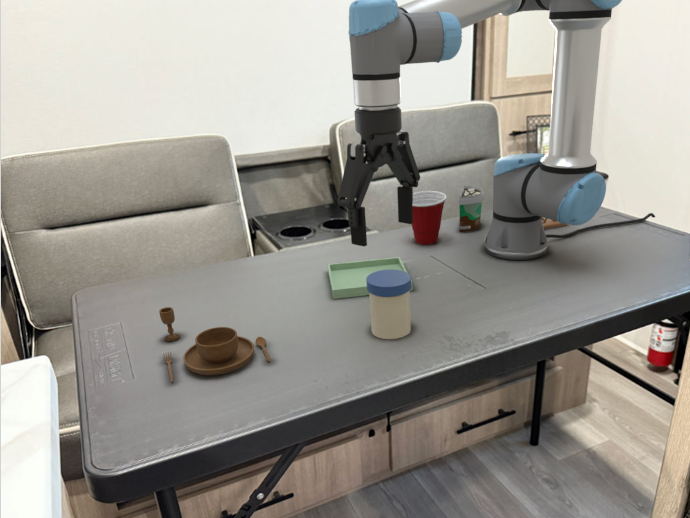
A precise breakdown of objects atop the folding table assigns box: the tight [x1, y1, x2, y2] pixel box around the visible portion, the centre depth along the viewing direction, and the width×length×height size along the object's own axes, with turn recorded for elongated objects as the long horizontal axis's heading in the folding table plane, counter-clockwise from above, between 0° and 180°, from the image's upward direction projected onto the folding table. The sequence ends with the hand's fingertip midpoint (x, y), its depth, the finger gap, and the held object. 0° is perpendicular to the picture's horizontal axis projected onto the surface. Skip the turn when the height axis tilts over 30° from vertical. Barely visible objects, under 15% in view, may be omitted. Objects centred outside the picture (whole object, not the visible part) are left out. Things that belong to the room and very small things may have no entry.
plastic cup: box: [411, 190, 447, 246], centre depth 154 cm, size 11×11×12 cm
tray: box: [326, 256, 414, 300], centre depth 134 cm, size 17×15×2 cm
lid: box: [366, 269, 412, 297], centre depth 109 cm, size 8×8×2 cm
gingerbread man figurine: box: [542, 217, 567, 230], centre depth 162 cm, size 9×4×12 cm, turn 112°
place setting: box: [158, 306, 271, 383], centre depth 107 cm, size 18×20×6 cm
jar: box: [368, 290, 412, 340], centre depth 111 cm, size 7×7×10 cm
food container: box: [458, 185, 486, 233], centre depth 164 cm, size 12×6×10 cm, turn 168°
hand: (383, 233), depth 106 cm, fingers open, 13 cm apart
